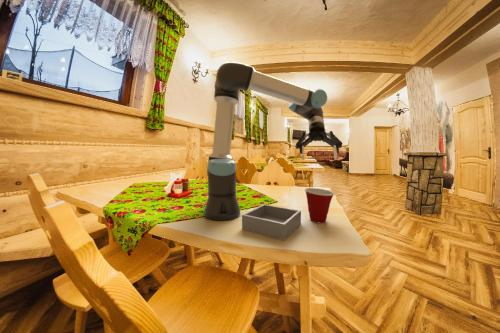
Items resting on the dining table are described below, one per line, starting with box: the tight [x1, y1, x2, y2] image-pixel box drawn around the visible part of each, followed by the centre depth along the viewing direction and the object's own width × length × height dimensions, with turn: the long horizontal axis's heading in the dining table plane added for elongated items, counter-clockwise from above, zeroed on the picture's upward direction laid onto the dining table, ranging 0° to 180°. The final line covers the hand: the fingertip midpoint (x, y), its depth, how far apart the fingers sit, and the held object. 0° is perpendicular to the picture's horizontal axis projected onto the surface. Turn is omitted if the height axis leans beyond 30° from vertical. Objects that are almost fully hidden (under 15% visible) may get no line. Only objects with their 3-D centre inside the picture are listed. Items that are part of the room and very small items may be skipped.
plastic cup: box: [304, 187, 335, 224], centre depth 72 cm, size 11×11×12 cm
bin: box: [241, 203, 302, 241], centre depth 67 cm, size 16×16×5 cm
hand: (319, 158), depth 82 cm, fingers open, 13 cm apart
